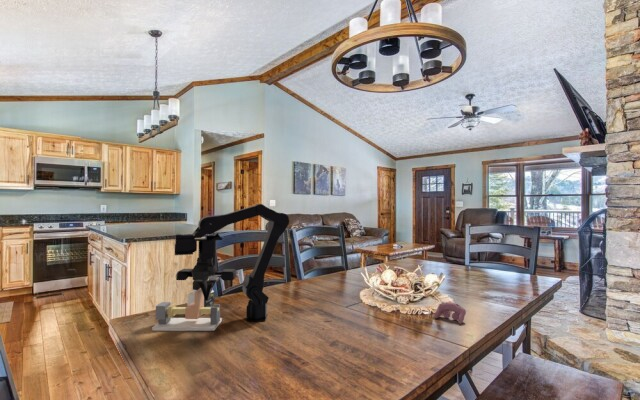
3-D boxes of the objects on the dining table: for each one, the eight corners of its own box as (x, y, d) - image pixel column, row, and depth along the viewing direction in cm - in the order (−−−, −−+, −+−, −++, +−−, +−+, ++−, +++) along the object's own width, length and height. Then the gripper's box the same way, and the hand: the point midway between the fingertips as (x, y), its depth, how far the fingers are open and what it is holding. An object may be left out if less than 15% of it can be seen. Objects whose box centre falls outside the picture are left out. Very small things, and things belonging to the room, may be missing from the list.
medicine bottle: (204, 314, 123) (204, 282, 123) (186, 313, 124) (187, 281, 124) (214, 308, 130) (214, 278, 130) (197, 307, 131) (197, 277, 131)
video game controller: (465, 326, 117) (468, 306, 119) (461, 324, 114) (464, 303, 116) (437, 319, 123) (441, 301, 126) (433, 317, 120) (436, 298, 123)
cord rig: (222, 320, 117) (222, 300, 117) (214, 330, 108) (214, 308, 108) (164, 320, 116) (164, 300, 116) (152, 330, 107) (152, 308, 107)
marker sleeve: (203, 313, 115) (203, 287, 115) (197, 319, 109) (197, 292, 109) (192, 313, 115) (192, 287, 115) (185, 319, 109) (185, 292, 109)
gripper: (169, 257, 104) (168, 307, 104) (229, 257, 104) (228, 307, 104) (183, 252, 115) (182, 297, 115) (237, 252, 115) (236, 297, 115)
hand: (206, 300), depth 112 cm, fingers closed
